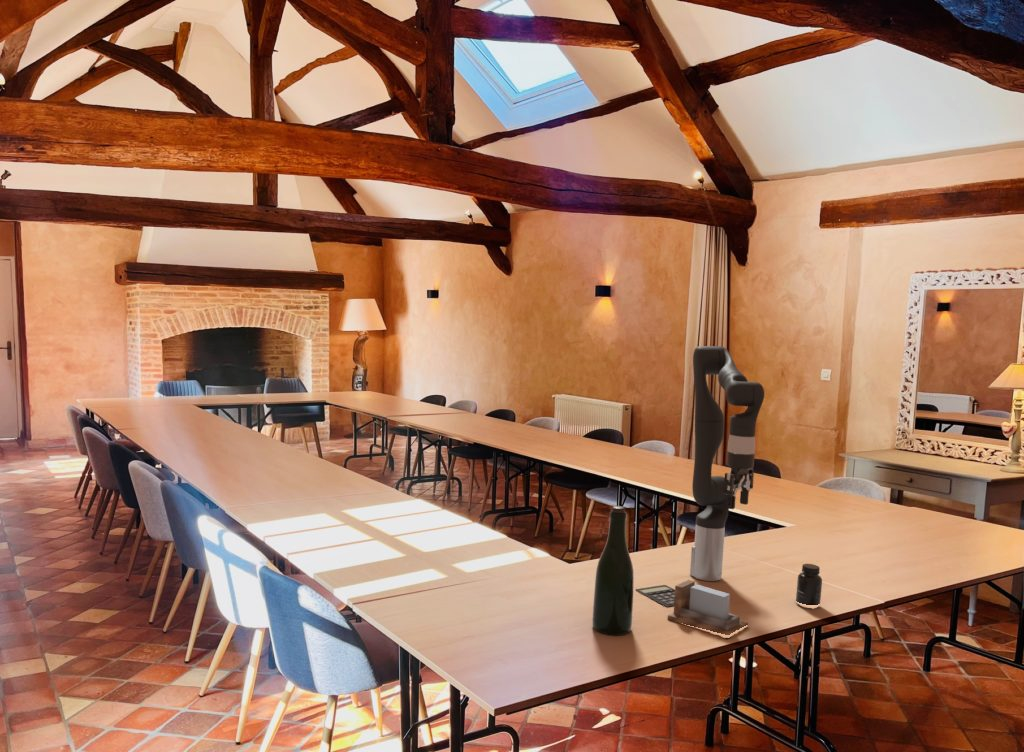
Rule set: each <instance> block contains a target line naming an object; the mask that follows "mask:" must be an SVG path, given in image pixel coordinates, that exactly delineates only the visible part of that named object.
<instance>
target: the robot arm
mask: <svg viewBox="0 0 1024 752" xmlns="http://www.w3.org/2000/svg"><path fill="white" fill-rule="evenodd" d="M692 355H693V356H692V368H693V369H692V370H693V382H694V464H693V475H692V488H691V489H692V495H693V499H694V501H695V503H696V504H698V505H699V506H706V508H705V509H704V510H703V511H701V512H700V513H698V514H696V516H695V528H694V529H695V532H694V545H692V546H691V549H690V550H691V552H690V568H689V569H690V570H689V576H692V577H693V578H695V579H697V580H700V581H706V582H719V581H721V580H722V574H723V561H724V547H725V546H724V544H725V531H726V530H725V529H726V528H725V527H726V522H727V520H728V516H729V510H734V509H735V508H736V499H737V498H736V495H737V493H738V491H739V490H740V493H739V494H740V495H739V496H740V497H739V503H740V504H741V505H745V506H746V505H748V504H749V495H750V494H749V493H750V492H751V490H752V489H753V488H754V478H755V477H754V476H755V475H754V473H755V470H754V469H753V468H755V467H754V466H755V453H756V452H755V451H756V426H757V425H756V424H757V420H758V416H759V412H760V410H761V407H762V405H763V402H764V399H765V388H764V386H763V385H762V383H760V382H759V381H757V382H756V381H748V379H747V377H746V376H745V375H744V374H743V373H742V372H741V371H740V370H739V369H738V368H737V366H736V364H735V361H734V359H733V357H732V356H731V353H730V352H729V350H728V349H727V348H726V347H724V346H719V345H717V346H716V345H715V346H713V345H711V346H710V345H709V346H707V345H704V346H703V345H701V346H697V347H695V349H694V351H693V354H692ZM708 375H709V376H710V375H711V376H714V375H715V376H717V381H718V383H719V385H720V387H721V388H722V389H723V390H724V392H725V399H726V402H727V404H729V405H731V406H735V407H736V406H737V407H747V408H746V409H745V411H743V412H739V413H735V414H733V415H731V417H730V421H729V422H730V423H729V435H728V441H727V452H726V466H727V467H729V468H731V469H730V473H729V472H725V473H724V476H723V475H712V466H713V462H714V459H715V456H716V454H717V452H718V450H719V448H720V446H721V444H722V443H723V439H724V435H725V415H724V412H723V410H722V409H721V406H719V404H718V402H717V401H716V400H715V398H714V397H713V394H712V393H711V391H710V388H709V386H708V381H707V376H708ZM718 580H719V581H718Z"/></svg>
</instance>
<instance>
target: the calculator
mask: <svg viewBox="0 0 1024 752" xmlns="http://www.w3.org/2000/svg"><path fill="white" fill-rule="evenodd" d="M635 591H636V592H637V593H639V594H641V595H643V596H644V597H646V598H649V599H650V600H652V601H653V602H656V603H657V604H659V605H661V606H663V607H664V608H671V607H674V599H675V588H673V587H670V586H669V585H667V584H662V585H661V584H660V585H655V586H648V587H640V588H635Z"/></svg>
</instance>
